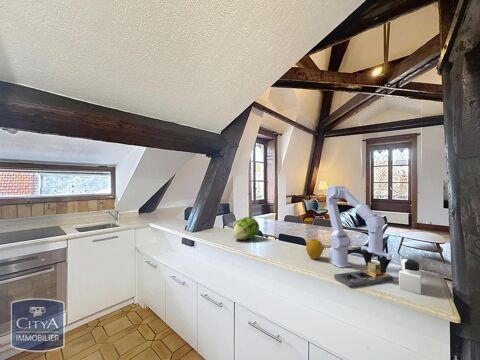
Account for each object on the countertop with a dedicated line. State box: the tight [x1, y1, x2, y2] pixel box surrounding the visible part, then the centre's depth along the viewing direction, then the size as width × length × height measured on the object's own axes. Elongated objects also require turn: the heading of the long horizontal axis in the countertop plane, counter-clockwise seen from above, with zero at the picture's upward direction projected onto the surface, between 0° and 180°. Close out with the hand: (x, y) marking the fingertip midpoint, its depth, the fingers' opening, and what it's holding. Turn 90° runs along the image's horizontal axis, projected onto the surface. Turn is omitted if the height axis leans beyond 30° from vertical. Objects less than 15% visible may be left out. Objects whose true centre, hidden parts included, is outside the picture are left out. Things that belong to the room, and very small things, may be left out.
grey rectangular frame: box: [333, 269, 394, 289], centre depth 97 cm, size 9×25×2 cm, turn 107°
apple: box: [305, 238, 324, 260], centre depth 124 cm, size 10×10×12 cm
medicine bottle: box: [398, 258, 422, 295], centre depth 89 cm, size 7×7×12 cm
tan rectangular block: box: [367, 261, 382, 276], centre depth 99 cm, size 4×4×7 cm
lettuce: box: [232, 216, 260, 241], centre depth 167 cm, size 18×23×19 cm
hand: (375, 269), depth 99 cm, fingers open, 7 cm apart
